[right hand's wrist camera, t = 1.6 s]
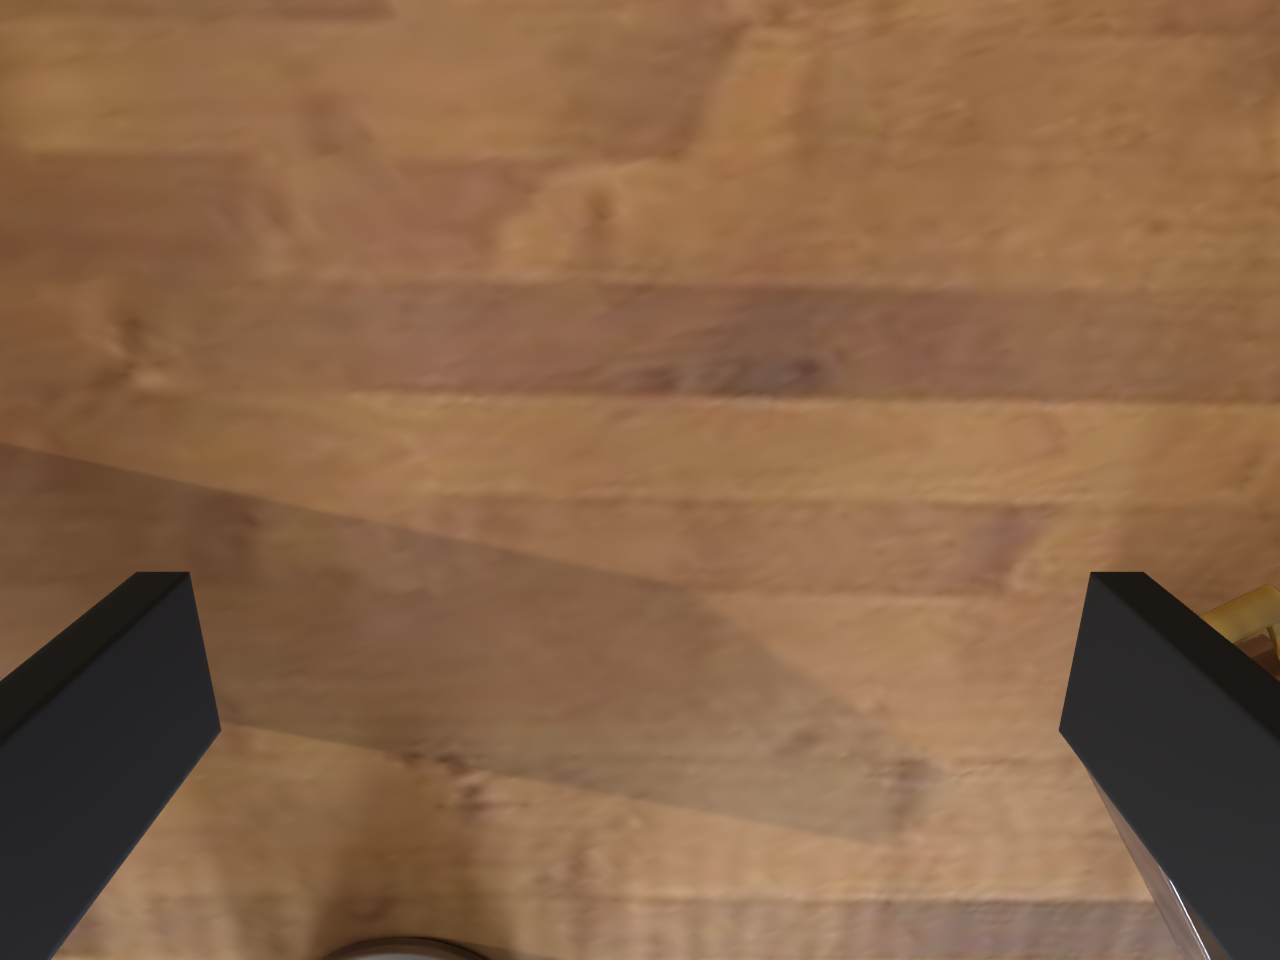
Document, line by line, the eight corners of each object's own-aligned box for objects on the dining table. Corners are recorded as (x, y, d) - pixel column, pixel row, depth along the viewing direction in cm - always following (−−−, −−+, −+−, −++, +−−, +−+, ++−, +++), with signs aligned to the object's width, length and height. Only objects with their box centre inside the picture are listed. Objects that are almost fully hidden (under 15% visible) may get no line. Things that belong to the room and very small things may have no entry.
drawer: (1035, 638, 42) (1098, 714, 37) (1227, 546, 41) (1326, 610, 35) (1185, 933, 49) (1259, 1036, 43) (1356, 864, 47) (1457, 963, 41)
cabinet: (1070, 739, 46) (1157, 855, 38) (1273, 647, 44) (1407, 749, 36) (1183, 958, 51) (1279, 1098, 43) (1368, 885, 49) (1503, 1018, 41)
